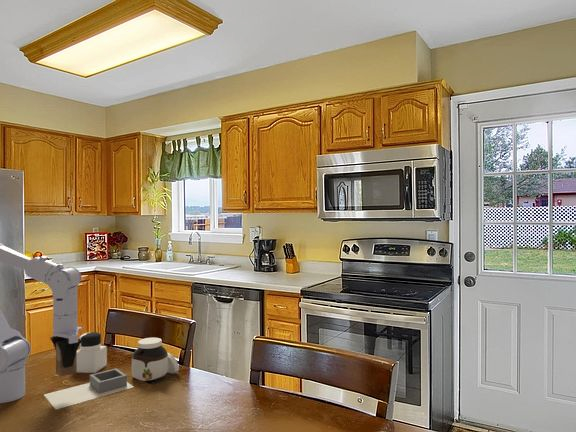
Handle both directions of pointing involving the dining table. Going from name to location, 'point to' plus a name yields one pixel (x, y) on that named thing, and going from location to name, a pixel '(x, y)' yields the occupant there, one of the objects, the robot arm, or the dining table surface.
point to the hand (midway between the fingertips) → (65, 364)
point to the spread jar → (152, 361)
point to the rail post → (60, 368)
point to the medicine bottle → (91, 353)
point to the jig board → (90, 389)
